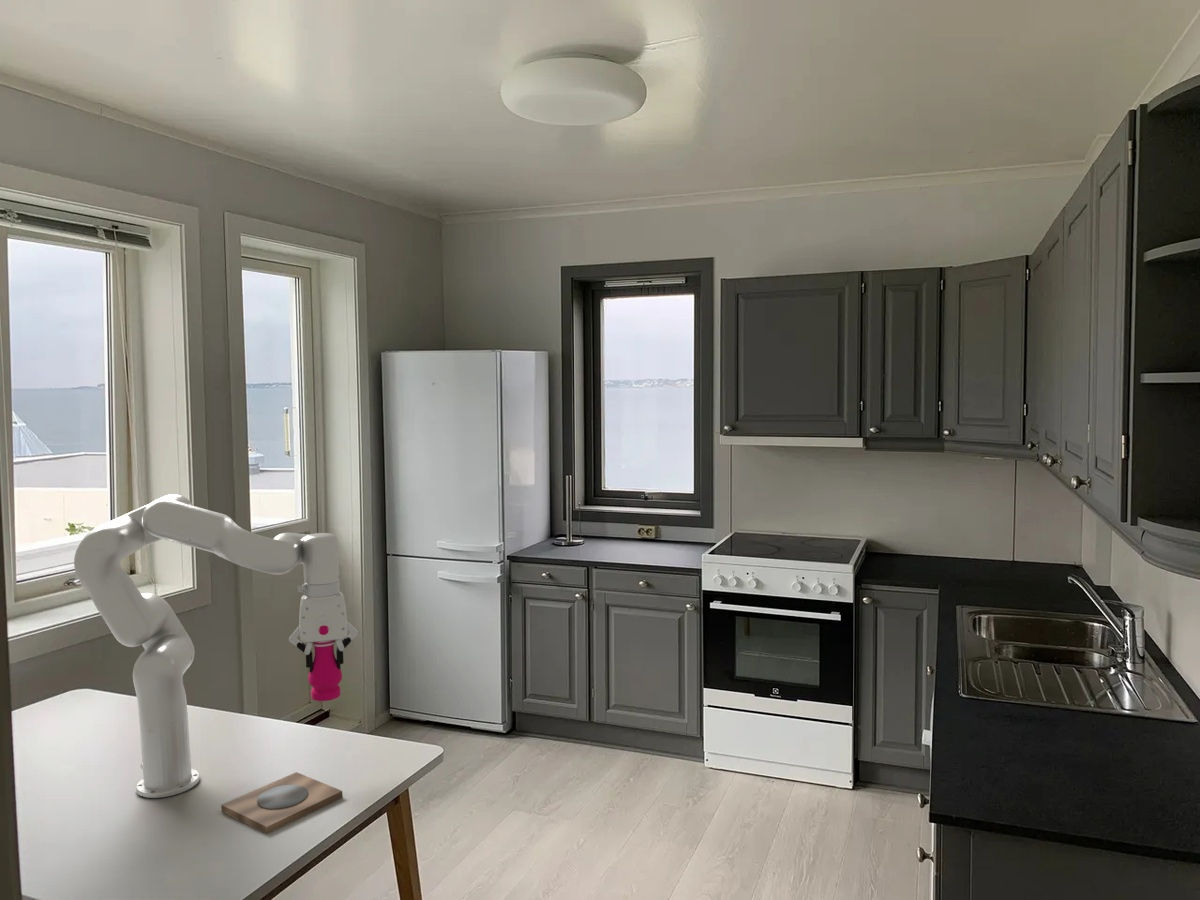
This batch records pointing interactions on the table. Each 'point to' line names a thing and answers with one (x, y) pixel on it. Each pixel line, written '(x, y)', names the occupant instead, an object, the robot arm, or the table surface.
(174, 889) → the table surface
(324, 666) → the pepper mill
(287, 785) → the walnut board
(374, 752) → the table surface
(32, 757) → the table surface
